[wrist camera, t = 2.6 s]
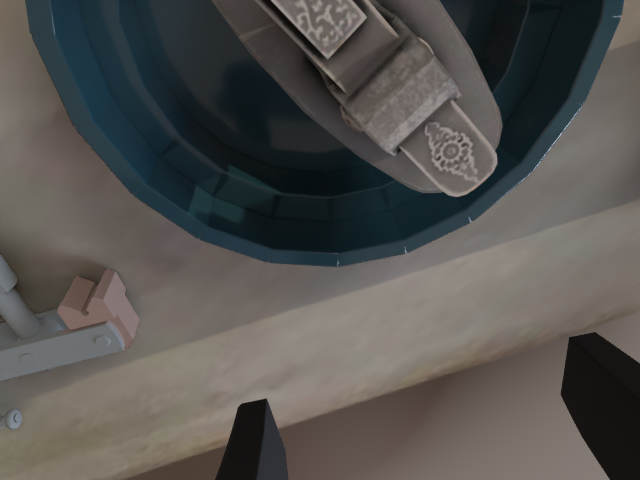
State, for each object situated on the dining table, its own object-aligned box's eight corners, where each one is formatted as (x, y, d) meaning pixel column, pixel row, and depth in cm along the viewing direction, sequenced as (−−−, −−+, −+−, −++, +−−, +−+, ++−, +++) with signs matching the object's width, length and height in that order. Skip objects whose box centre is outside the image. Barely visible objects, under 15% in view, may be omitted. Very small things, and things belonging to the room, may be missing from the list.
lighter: (435, 55, 17) (602, 171, 9) (366, 122, 18) (455, 284, 10) (265, -153, 14) (272, -289, 5) (191, -53, 15) (98, -35, 6)
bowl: (570, -389, 12) (711, -536, 8) (529, 164, 20) (590, 217, 17) (-25, -265, 12) (-154, -355, 8) (175, 235, 20) (156, 304, 17)
